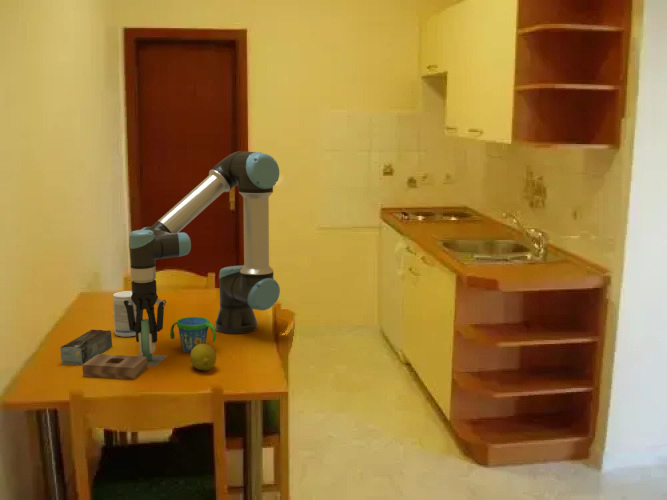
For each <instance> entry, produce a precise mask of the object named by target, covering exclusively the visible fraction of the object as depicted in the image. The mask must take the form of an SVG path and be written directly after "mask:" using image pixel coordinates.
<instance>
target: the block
mask: <svg viewBox="0 0 667 500" xmlns="http://www.w3.org/2000/svg"><path fill="white" fill-rule="evenodd" d="M147 369H148V366H147V357H140V356H137V355H120V354H103V353H101V354H97V355H96V356H94V357H93V358H91V359H90V360H89V361H87V362H86V363H84V364H83V365H82V377H86V378H103V379H117V380H118V379H119V380H133V381H134V380H136V378H138V377H140V376H141V374H143V373H144V371H146V370H147Z"/></svg>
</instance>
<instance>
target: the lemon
mask: <svg viewBox="0 0 667 500" xmlns="http://www.w3.org/2000/svg"><path fill="white" fill-rule="evenodd" d="M189 354H190V356H189V357H190V359H189V360H190V363H191V365H192V366H193V367H194V368H195V369H196V370H199V371H203V372H207V371H210V370H212V369H213V368H214V366H215V364H216V361H217V354H216V351H215V350H214V348H213V347H212V346H211V345H209V344H207V343H206V344H199V345H197V346H195V347H194V348H193V349H192V351H191V353H189Z"/></svg>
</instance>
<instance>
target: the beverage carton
mask: <svg viewBox="0 0 667 500" xmlns="http://www.w3.org/2000/svg"><path fill="white" fill-rule="evenodd" d="M112 340H113V339H112V330H109V329H108V330H102V329H90V330H88V331H87V332H85V333H84V334H82V335H80V336H78V337H76V338H75V339H73V340H71V341H69V342H68V343H66V344H64V345H61V346H60V347H59V348H60V349H59V350H60V360H61V365H67V364H72V365H71V366H76V365H80V366H83V364H84V363H86V362H87V361H89V360H90V359H91V358H93V357H94V356H96V355H97V354H103V353H105V352H107V351H108V350H109V349H111V348H113V341H112Z"/></svg>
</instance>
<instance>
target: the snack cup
mask: <svg viewBox="0 0 667 500" xmlns="http://www.w3.org/2000/svg"><path fill="white" fill-rule="evenodd" d="M175 326H177V329H178V334H179V340H180V345H181V349H182V351H183V352H184V353H189V354H191V351H192V349H193V348H194V347H195V346H197V345H199V344H207V338H208V330H209V328H210V330H211V332H212V333H213V338H212V343H213V344H214V343H215V342H216V340H217V337H218V336H217V330H216V326H214V325H213V324H212V323H211V322H210V320H209V319H208V318H206V317H202V316H187V317H183V318H182V317H181V318H180V319H178V320H176V321H175V322H174V323H173V324H172V325H171V326H170V331H169V335H170V339H171V340H174V339H175V335H176V334H175V331H174V330H175Z"/></svg>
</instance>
